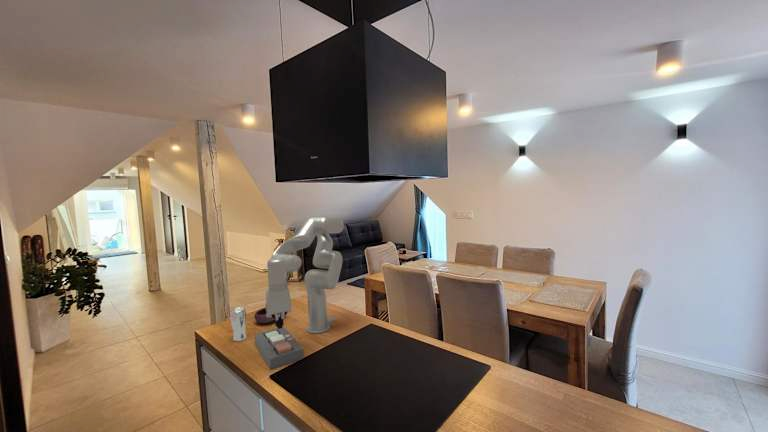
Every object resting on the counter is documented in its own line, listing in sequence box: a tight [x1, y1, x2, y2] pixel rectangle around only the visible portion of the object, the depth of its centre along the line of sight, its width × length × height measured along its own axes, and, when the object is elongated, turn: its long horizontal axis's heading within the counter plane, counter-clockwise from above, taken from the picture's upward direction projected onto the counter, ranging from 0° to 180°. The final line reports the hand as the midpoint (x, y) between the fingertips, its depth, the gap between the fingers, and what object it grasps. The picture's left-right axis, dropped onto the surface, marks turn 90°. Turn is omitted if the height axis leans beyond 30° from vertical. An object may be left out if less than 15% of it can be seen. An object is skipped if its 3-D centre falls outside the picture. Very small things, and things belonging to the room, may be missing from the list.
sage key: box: [265, 331, 280, 339], centre depth 152 cm, size 6×6×3 cm
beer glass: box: [230, 306, 248, 342], centre depth 157 cm, size 7×7×15 cm
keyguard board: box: [253, 325, 304, 370], centre depth 145 cm, size 14×28×5 cm, turn 34°
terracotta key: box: [275, 341, 292, 355], centre depth 137 cm, size 6×6×3 cm
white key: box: [269, 334, 285, 346], centre depth 145 cm, size 6×6×3 cm
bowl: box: [253, 307, 280, 324], centre depth 178 cm, size 16×13×8 cm
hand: (279, 327), depth 138 cm, fingers closed
